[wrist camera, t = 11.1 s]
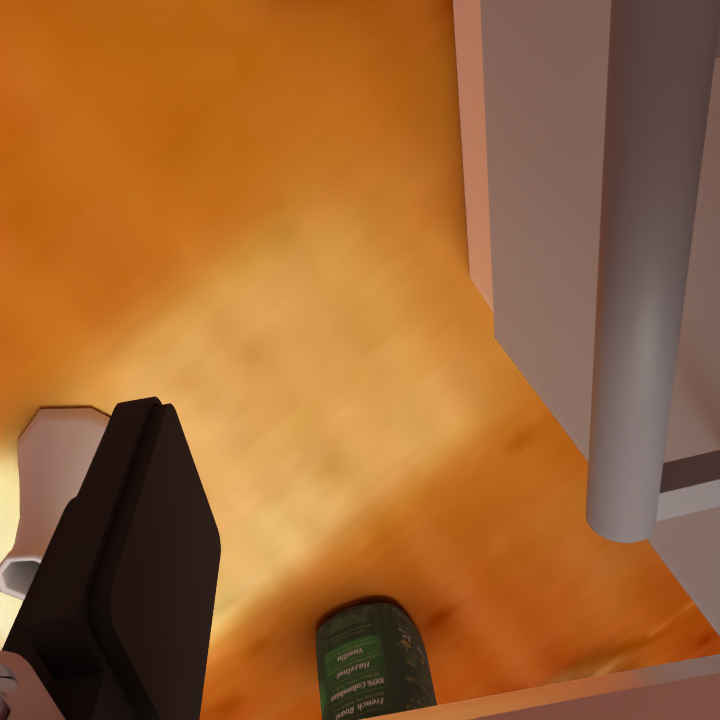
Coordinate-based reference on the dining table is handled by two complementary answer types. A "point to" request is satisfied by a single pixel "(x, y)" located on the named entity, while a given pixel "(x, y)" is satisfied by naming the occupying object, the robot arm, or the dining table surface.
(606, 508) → the lid flap
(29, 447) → the flask
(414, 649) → the coffee jar
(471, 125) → the box body
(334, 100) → the dining table surface
